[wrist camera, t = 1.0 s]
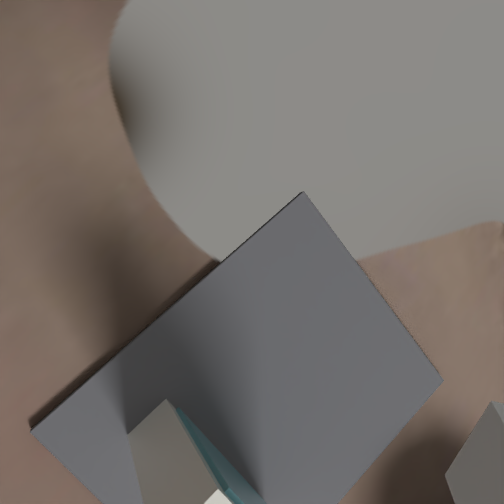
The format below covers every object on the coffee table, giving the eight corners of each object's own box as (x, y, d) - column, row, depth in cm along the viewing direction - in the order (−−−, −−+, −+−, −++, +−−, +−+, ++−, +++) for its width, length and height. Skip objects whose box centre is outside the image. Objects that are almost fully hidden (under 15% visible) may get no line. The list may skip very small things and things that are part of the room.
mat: (227, 622, 31) (230, 627, 30) (30, 429, 27) (29, 432, 26) (439, 378, 36) (444, 380, 36) (300, 192, 33) (303, 191, 32)
